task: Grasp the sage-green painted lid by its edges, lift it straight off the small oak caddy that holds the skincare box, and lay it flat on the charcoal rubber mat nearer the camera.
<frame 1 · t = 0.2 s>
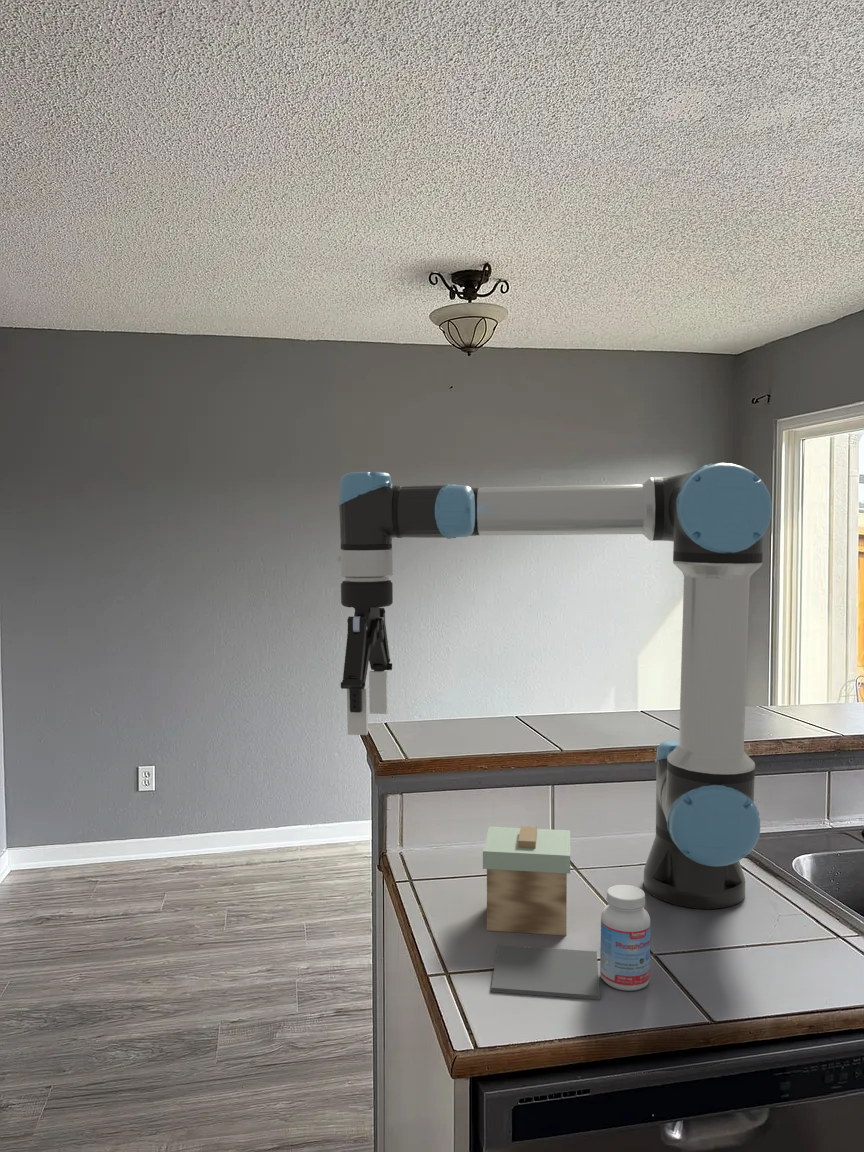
hand: (368, 723, 130), 28 cm above the counter, fingers open, 13 cm apart
pill bottle: (625, 981, 111), on the counter
skincare box: (527, 918, 128), resting in caddy
mat: (546, 972, 112), on the counter
caddy: (527, 918, 128), on the counter
lid: (527, 857, 127), point 9 cm above the counter, touching caddy
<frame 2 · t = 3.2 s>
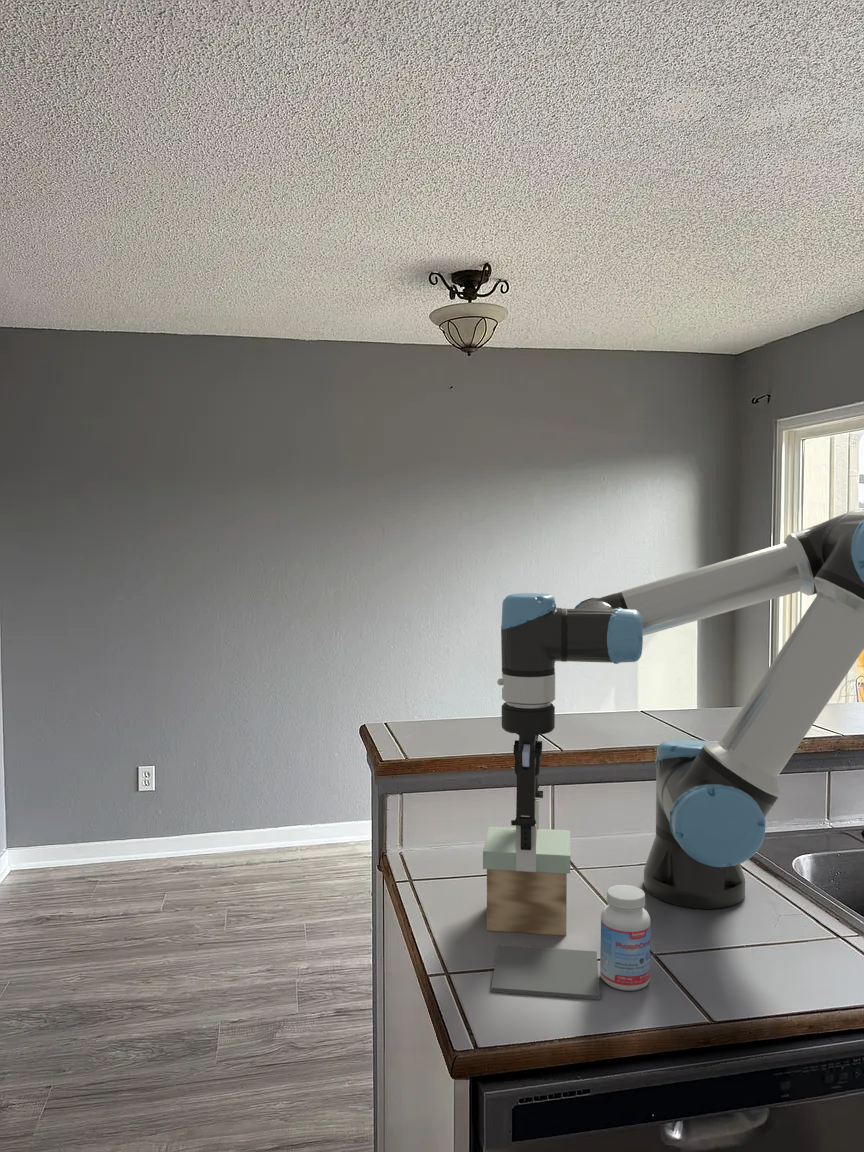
hand: (527, 855, 127), 9 cm above the counter, fingers closed on lid, 10 cm apart
lid: (527, 857, 127), point 9 cm above the counter, touching caddy, gripper
everything else where it was.
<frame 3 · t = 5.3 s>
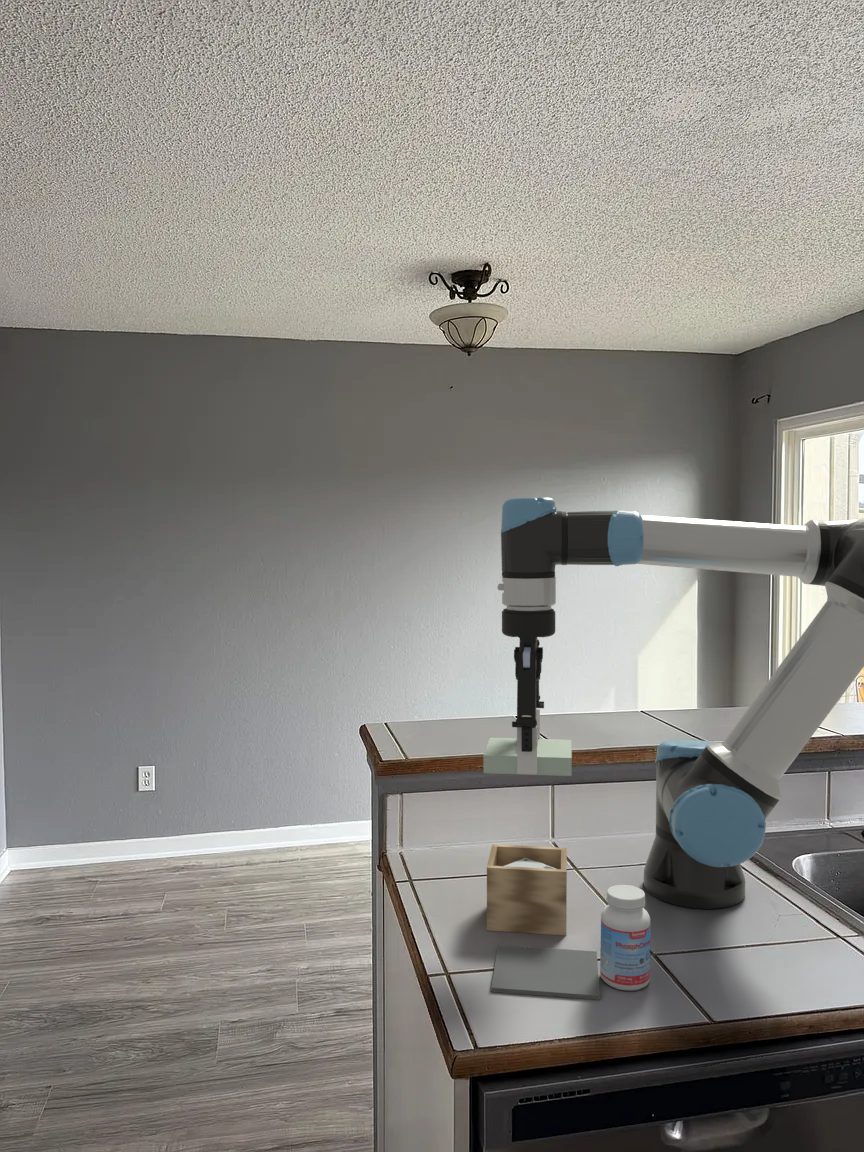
hand: (529, 762, 126), 23 cm above the counter, fingers closed on lid, 10 cm apart
lid: (528, 764, 126), point 23 cm above the counter, touching gripper
everything else where it was.
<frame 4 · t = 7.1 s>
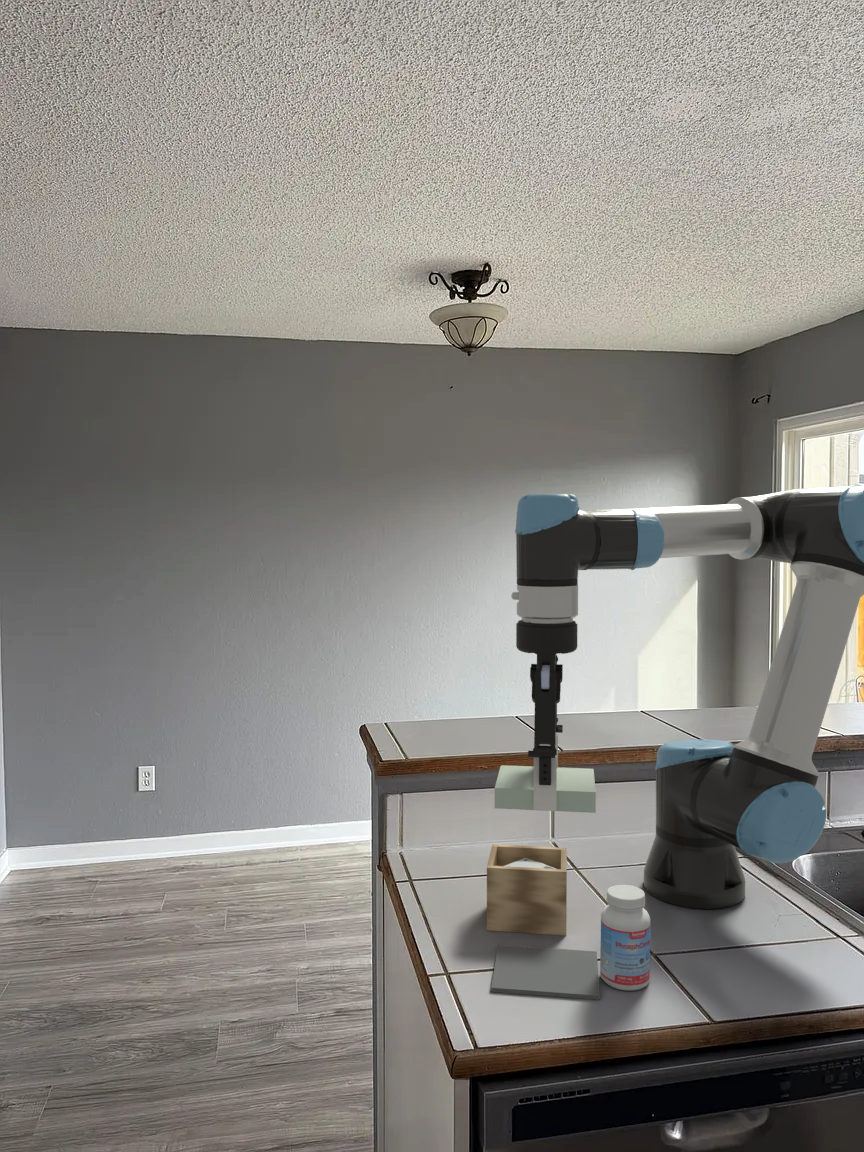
hand: (546, 795, 111), 23 cm above the counter, fingers closed on lid, 10 cm apart
lid: (545, 797, 111), point 23 cm above the counter, touching gripper
everything else where it was.
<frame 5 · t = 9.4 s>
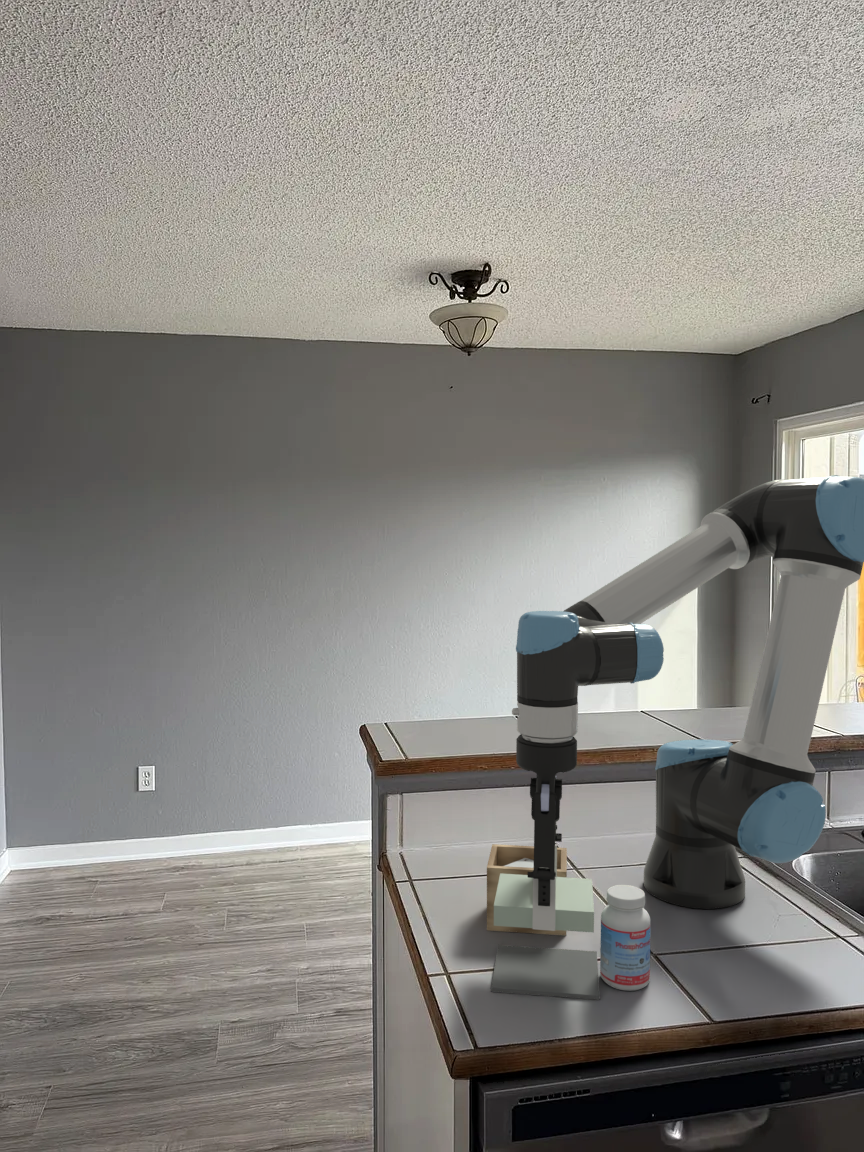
hand: (545, 909, 112), 8 cm above the counter, fingers closed on lid, 10 cm apart
lid: (544, 911, 112), point 8 cm above the counter, touching gripper
everything else where it was.
when the fingers open (2 cm above the counter, at t = 11.3 s): lid drops 2 cm, resting on mat.
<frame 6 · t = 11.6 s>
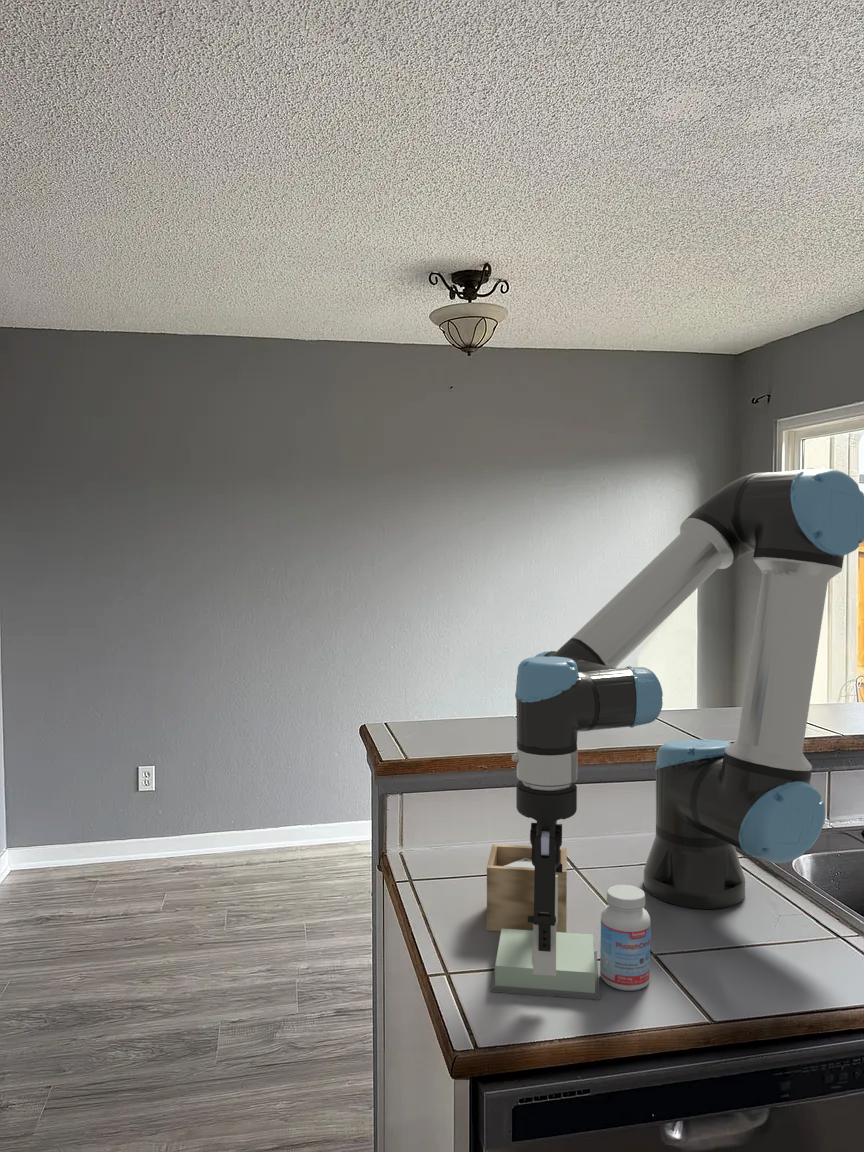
hand: (546, 946, 112), 3 cm above the counter, fingers open, 13 cm apart
lid: (545, 968, 112), resting on mat
everything else where it was.
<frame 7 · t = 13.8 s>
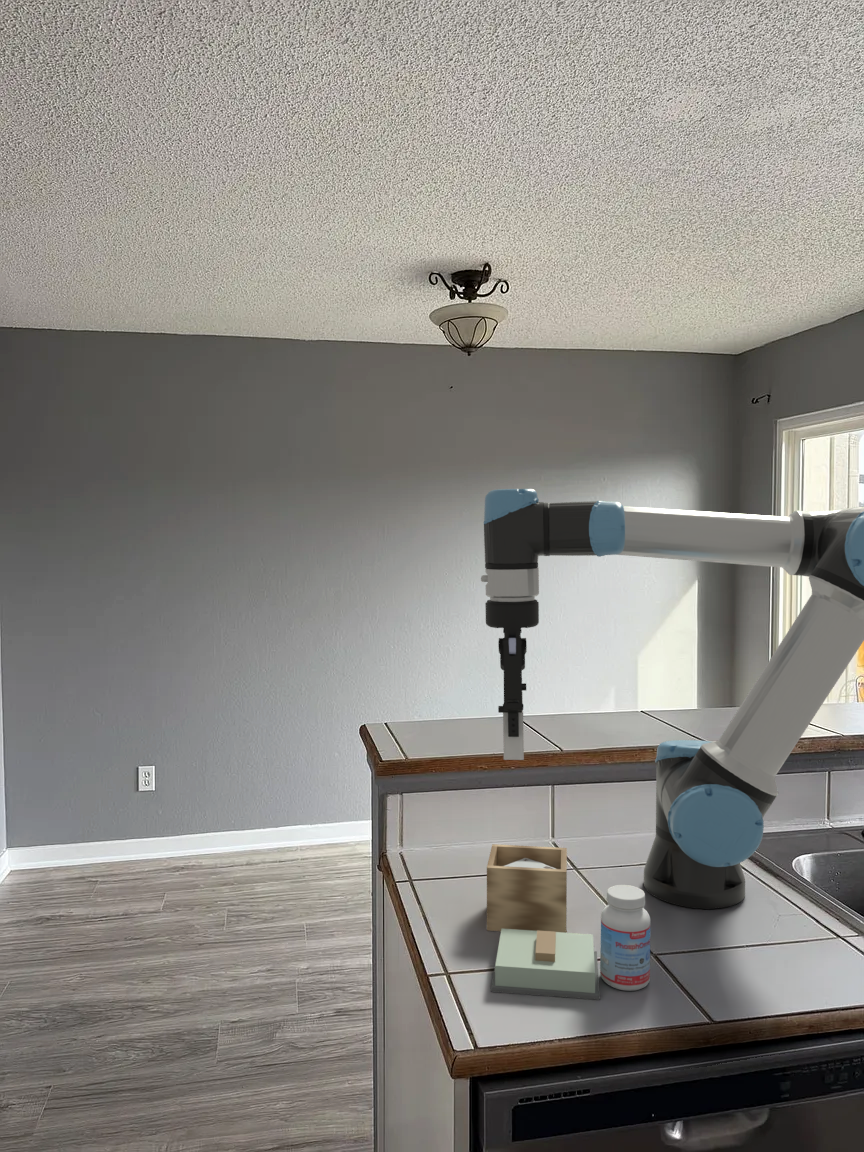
hand: (513, 746, 127), 25 cm above the counter, fingers open, 13 cm apart
nothing on the counter moved.
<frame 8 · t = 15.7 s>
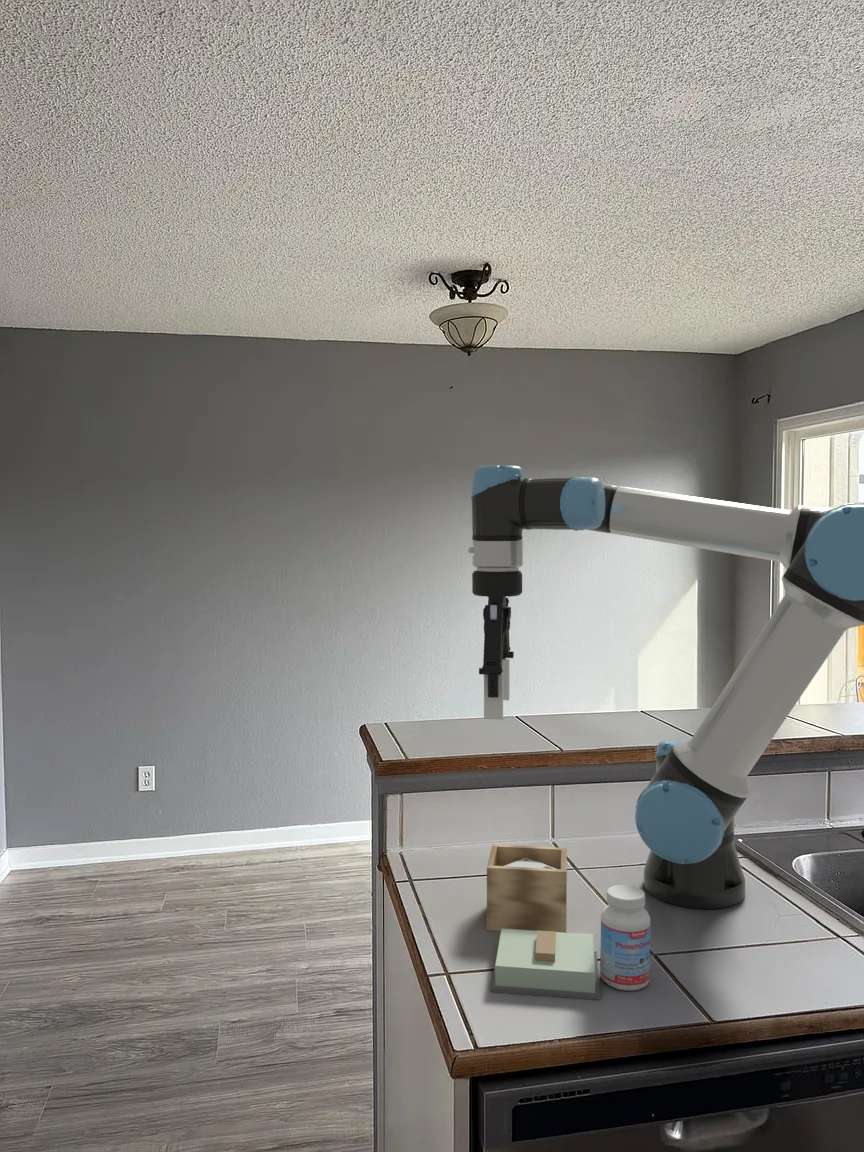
hand: (497, 709, 134), 29 cm above the counter, fingers open, 13 cm apart
nothing on the counter moved.
at the end: lid inside the target area (0.0 cm from its centre), point 0.5 cm above the counter; lid tilted 0°; the gripper is holding nothing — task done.
